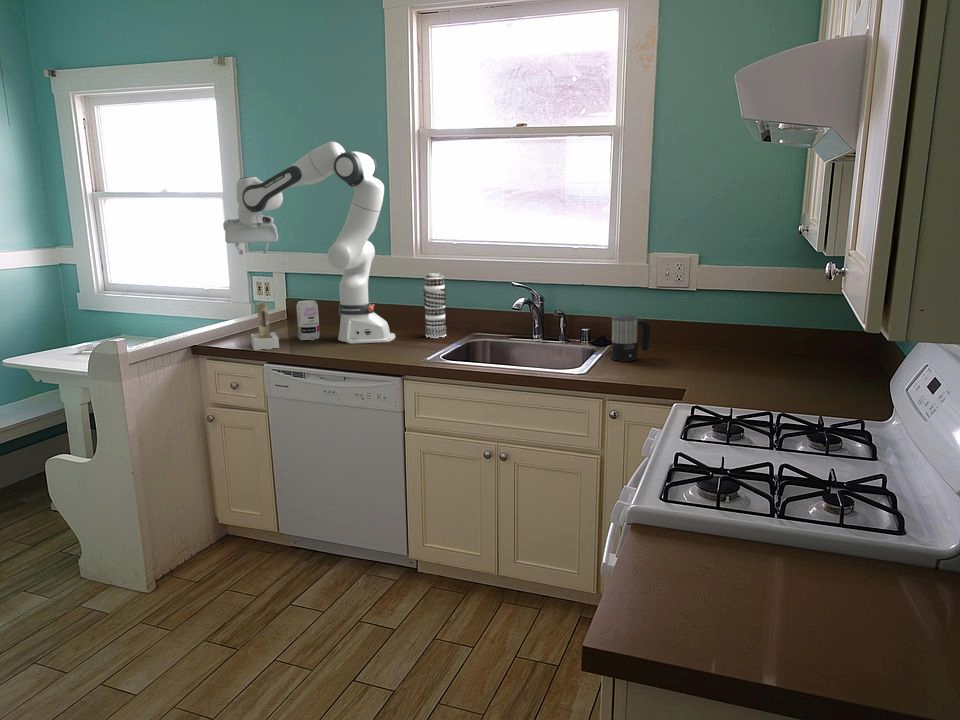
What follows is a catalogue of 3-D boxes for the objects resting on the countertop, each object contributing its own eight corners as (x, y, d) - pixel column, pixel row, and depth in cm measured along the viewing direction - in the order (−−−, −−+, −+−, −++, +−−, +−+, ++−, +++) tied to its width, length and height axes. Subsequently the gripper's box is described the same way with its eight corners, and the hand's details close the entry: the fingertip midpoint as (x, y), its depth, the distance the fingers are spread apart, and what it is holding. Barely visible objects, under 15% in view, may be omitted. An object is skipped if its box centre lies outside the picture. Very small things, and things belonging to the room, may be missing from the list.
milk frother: (623, 363, 253) (624, 320, 250) (591, 355, 266) (592, 313, 263) (653, 357, 261) (655, 315, 257) (621, 349, 274) (622, 309, 270)
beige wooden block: (269, 340, 290) (266, 302, 287) (270, 343, 285) (267, 304, 282) (259, 341, 289) (256, 302, 285) (261, 344, 284) (257, 304, 281)
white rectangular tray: (251, 344, 291) (250, 334, 290) (275, 342, 294) (274, 332, 294) (254, 350, 280) (253, 340, 280) (279, 348, 284) (278, 337, 283)
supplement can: (308, 336, 306) (306, 299, 302) (324, 338, 301) (321, 300, 298) (294, 339, 299) (291, 302, 295) (309, 341, 295) (307, 303, 291)
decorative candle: (440, 332, 309) (438, 271, 303) (451, 336, 301) (450, 273, 295) (420, 335, 304) (418, 273, 298) (431, 339, 296) (429, 275, 291)
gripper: (223, 219, 292) (226, 255, 295) (277, 218, 299) (279, 253, 302) (222, 219, 298) (225, 254, 301) (275, 217, 305) (278, 252, 308)
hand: (253, 253), depth 302 cm, fingers open, 8 cm apart
